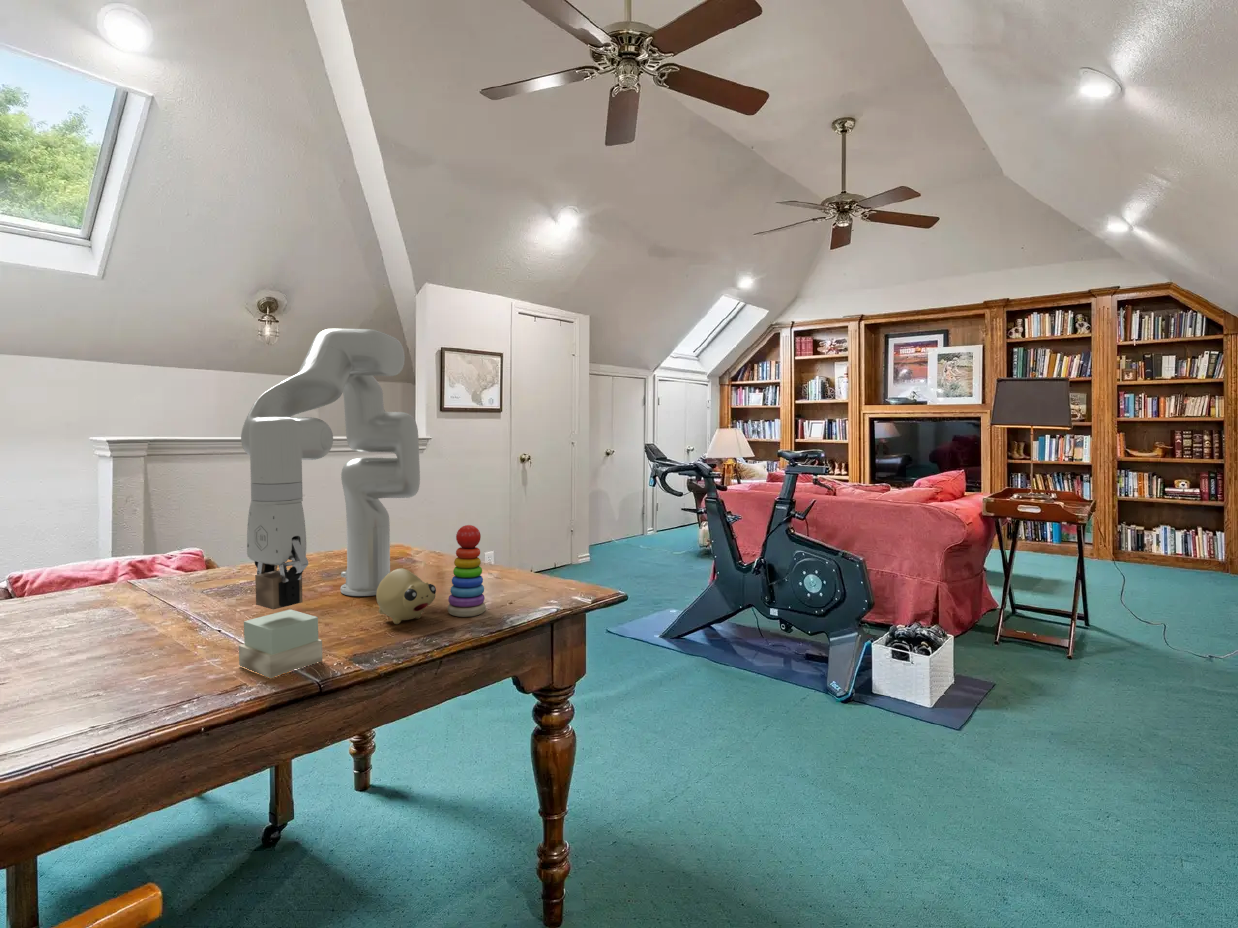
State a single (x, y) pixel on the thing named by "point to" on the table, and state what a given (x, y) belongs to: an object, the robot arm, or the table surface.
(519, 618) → the table surface
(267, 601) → the walnut cube
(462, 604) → the stacking toy
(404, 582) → the toy frog
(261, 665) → the base block
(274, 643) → the top block
